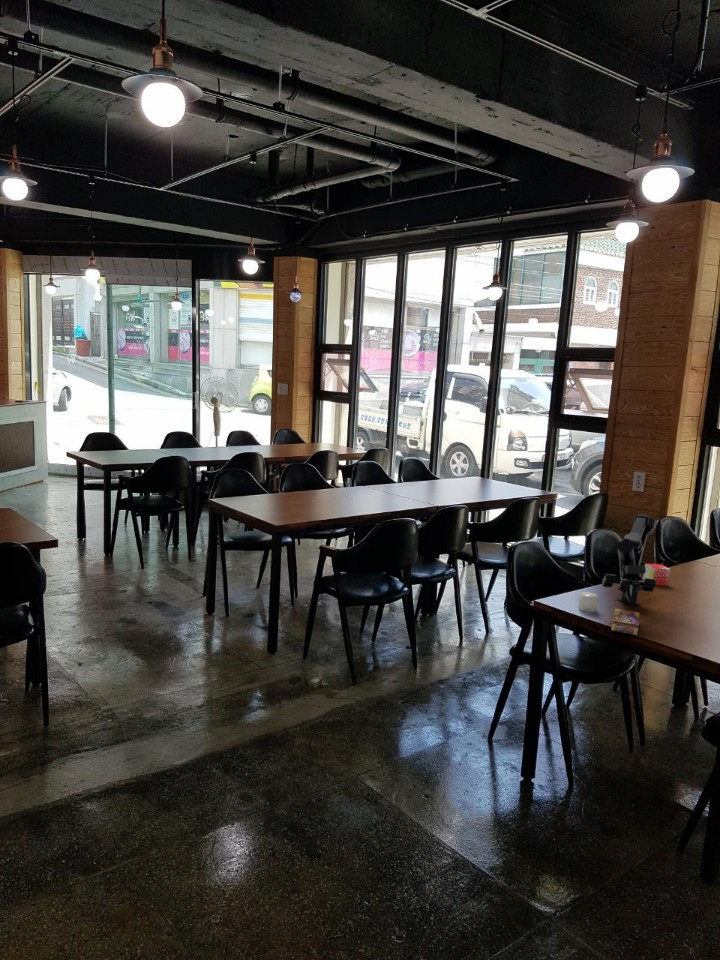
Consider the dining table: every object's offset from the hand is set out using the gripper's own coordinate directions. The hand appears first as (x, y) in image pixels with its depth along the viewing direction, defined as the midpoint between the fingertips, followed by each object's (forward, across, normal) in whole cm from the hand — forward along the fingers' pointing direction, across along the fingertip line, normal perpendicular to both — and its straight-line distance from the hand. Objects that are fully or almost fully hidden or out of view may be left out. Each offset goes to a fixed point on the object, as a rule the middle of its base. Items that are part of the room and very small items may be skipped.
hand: (630, 602), depth 265 cm
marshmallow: (-2, -13, +12) cm, 18 cm away
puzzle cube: (-39, +27, +50) cm, 69 cm away
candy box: (+3, 0, +5) cm, 6 cm away
